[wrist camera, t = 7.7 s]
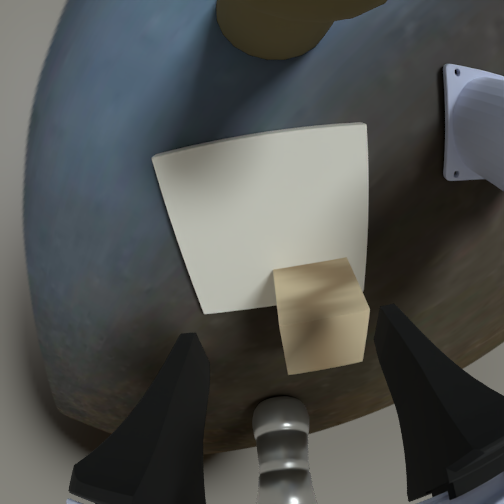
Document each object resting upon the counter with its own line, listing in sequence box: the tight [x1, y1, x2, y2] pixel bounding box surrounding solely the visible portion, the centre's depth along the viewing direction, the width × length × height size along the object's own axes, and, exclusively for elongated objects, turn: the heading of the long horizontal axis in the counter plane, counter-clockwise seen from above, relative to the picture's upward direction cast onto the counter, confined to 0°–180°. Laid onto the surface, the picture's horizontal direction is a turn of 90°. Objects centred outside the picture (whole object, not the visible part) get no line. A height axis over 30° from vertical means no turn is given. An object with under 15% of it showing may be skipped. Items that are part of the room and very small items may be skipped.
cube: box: [273, 257, 370, 375], centre depth 18 cm, size 5×5×5 cm
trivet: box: [152, 122, 369, 314], centre depth 18 cm, size 12×12×1 cm
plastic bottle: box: [252, 396, 317, 504], centre depth 23 cm, size 6×7×20 cm
